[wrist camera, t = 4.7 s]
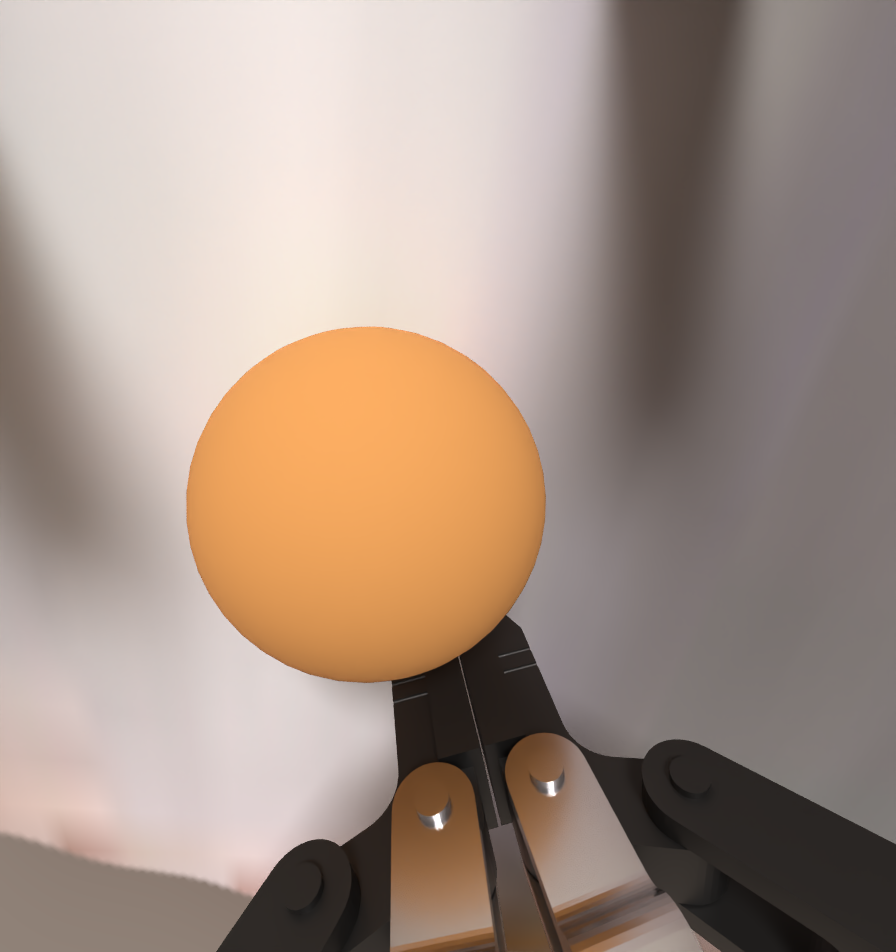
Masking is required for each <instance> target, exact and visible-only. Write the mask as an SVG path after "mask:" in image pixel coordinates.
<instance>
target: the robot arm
mask: <svg viewBox="0 0 896 952" xmlns="http://www.w3.org/2000/svg"><path fill="white" fill-rule="evenodd" d="M459 656H460V660H461V665H462V669H463V673H464V677H465V681H466V685H467V689H468V693H469V697H470V701H471V705H472V709H473V713H474V717H475V721H476V725H477V729H478V733H479V737H480V741H481V745H482V749H483V753H484V757H485V761H486V765H487V769H488V773H489V777H490V781H491V785H492V789H493V793H494V797H495V801H496V805H497V809H498V813H499V817H500V821H501V825H505V824H508V823H513V827H514V831H515V834H516V838H517V842H518V845H519V849H520V853H521V858H522V863H523V868H524V871H525V875H526V878H527V881H528V884H529V887H530V890H531V893H532V896H533V899H534V902H535V904H536V907H537V910H538V913H539V916H540V919H541V922H542V925H543V928H544V931H545V934H546V937H547V940H548V943H549V946H550V949H551V952H704V951H703V949H702V948H701V946H700V944H699V942H698V940H697V939H696V937H695V935H694V933H693V931H692V930H694V931H695V932H696V933H698V934H699V935H700V936H702V937H703V938H704V939H706V940H707V941H708V942H710V943H711V944H712V945H713V946H715V947H716V948H717V949H719V950H720V951H721V952H896V844H894V843H892V842H890V841H888V840H886V839H884V838H882V837H880V836H878V835H877V834H875V833H873V832H871V831H869V830H867V829H865V828H863V827H861V826H859V825H857V824H855V823H853V822H851V821H849V820H847V819H845V818H843V817H841V816H839V815H837V814H835V813H833V812H832V811H830V810H828V809H826V808H824V807H822V806H820V805H818V804H816V803H814V802H812V801H810V800H808V799H806V798H804V797H802V796H800V795H798V794H796V793H794V792H792V791H790V790H789V789H787V788H785V787H783V786H781V785H779V784H777V783H775V782H773V781H771V780H769V779H767V778H765V777H763V776H761V775H759V774H757V773H755V772H753V771H751V770H749V769H747V768H746V767H744V766H742V765H740V764H738V763H736V762H734V761H732V760H730V759H728V758H726V757H724V756H722V755H720V754H718V753H716V752H714V751H712V750H710V749H708V748H706V747H704V746H702V745H700V744H698V743H695V742H691V741H687V740H667V741H663V742H661V743H658V744H657V745H655V746H653V747H652V748H651V749H650V750H649V751H648V753H647V754H646V756H645V758H644V759H638V758H622V757H610V756H604V755H600V754H597V753H594V752H592V751H589V750H588V749H586V748H584V747H582V746H581V745H580V744H578V743H577V742H576V741H575V740H574V739H573V738H572V737H571V736H570V735H569V733H568V732H567V731H566V729H565V727H564V725H563V723H562V721H561V718H560V716H559V714H558V712H557V709H556V707H555V705H554V702H553V700H552V698H551V695H550V693H549V691H548V689H547V686H546V684H545V682H544V679H543V677H542V675H541V672H540V670H539V668H538V666H537V664H536V661H535V659H534V656H533V654H532V652H531V650H530V648H529V645H528V642H527V640H526V638H525V636H524V633H523V631H522V629H521V628H520V627H519V626H518V625H517V624H516V623H515V622H513V621H512V620H511V619H510V618H509V617H508V616H507V615H505V616H504V617H503V619H502V620H501V621H500V622H499V623H498V624H497V626H496V627H495V628H494V629H493V630H492V631H491V632H490V633H489V634H487V635H486V636H485V637H484V638H483V639H482V640H480V641H479V642H478V643H477V644H476V645H474V646H473V647H472V648H471V649H469V650H468V651H466V652H464V653H463V654H461V655H459ZM392 693H393V702H394V705H393V706H394V718H395V731H396V744H397V757H398V770H399V778H398V784H397V788H396V792H395V794H394V797H393V799H392V801H391V803H390V804H389V806H388V808H387V809H386V810H385V812H384V813H383V814H382V816H381V817H380V818H379V819H378V820H377V821H376V822H375V823H373V824H372V825H371V826H369V827H368V828H367V829H365V830H364V831H362V832H361V833H359V834H358V835H357V836H355V837H354V838H352V839H351V840H349V841H348V842H346V843H345V844H343V845H342V846H338V845H337V844H336V843H334V842H331V841H329V840H324V839H317V840H311V841H307V842H305V843H303V844H300V845H299V846H297V847H295V848H294V849H292V850H291V851H290V852H288V853H287V854H286V855H285V856H284V857H283V858H282V859H281V860H280V861H279V862H278V863H277V865H276V866H275V867H274V869H273V870H272V871H271V873H270V874H269V876H268V877H267V879H266V880H265V882H264V883H263V885H262V886H261V887H260V889H259V890H258V892H257V893H256V895H255V896H254V898H253V899H252V901H251V902H250V903H249V905H248V906H247V908H246V909H245V911H244V912H243V914H242V915H241V917H240V918H239V919H238V921H237V922H236V924H235V925H234V927H233V928H232V930H231V931H230V933H229V934H228V935H227V937H226V938H225V940H224V941H223V943H222V944H221V946H220V947H219V948H218V950H217V951H216V952H507V947H506V940H505V934H504V927H503V921H502V914H501V908H500V901H499V895H498V888H497V882H496V878H497V868H496V862H495V857H494V853H493V848H492V844H491V840H490V835H489V831H488V830H489V829H492V828H496V827H498V823H497V819H496V814H495V810H494V806H493V801H492V797H491V792H490V788H489V784H488V779H487V775H486V770H485V766H484V762H483V757H482V753H481V748H480V744H479V740H478V736H477V732H476V728H475V724H474V720H473V716H472V712H471V708H470V704H469V700H468V696H467V692H466V687H465V683H464V679H463V675H462V671H461V667H460V663H459V659H458V657H456V658H454V659H453V660H451V661H449V662H447V663H445V664H444V665H442V666H439V667H437V668H435V669H432V670H430V671H427V672H424V673H421V674H418V675H415V676H411V677H408V678H403V679H398V680H392ZM691 929H692V930H691Z"/></svg>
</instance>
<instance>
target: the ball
mask: <svg viewBox="0 0 896 952" xmlns="http://www.w3.org/2000/svg"><path fill="white" fill-rule="evenodd" d="M545 501H546V495H545V486H544V476H543V470H542V466H541V462H540V458H539V454H538V450H537V447H536V445H535V442H534V440H533V437H532V435H531V432H530V429H529V427H528V426H527V424H526V422H525V420H524V418H523V417H522V415H521V413H520V411H519V409H518V408H517V407H516V405H515V404H514V403H513V401H512V400H511V399H510V397H509V396H508V395H507V393H506V392H505V391H504V389H503V388H502V387H501V386H500V385H499V384H498V383H497V382H496V381H495V380H494V379H493V378H492V377H491V376H490V375H489V374H488V373H487V372H486V371H485V370H484V369H483V368H481V367H480V366H479V365H477V364H476V363H475V362H473V361H472V360H471V359H470V358H468V357H467V356H465V355H463V354H462V353H460V352H458V351H456V350H454V349H453V348H451V347H449V346H447V345H445V344H444V343H441V342H439V341H436V340H433V339H430V338H428V337H425V336H422V335H419V334H417V333H413V332H408V331H403V330H397V329H392V328H384V327H354V328H343V329H336V330H331V331H326V332H322V333H319V334H315V335H312V336H309V337H306V338H304V339H301V340H298V341H296V342H294V343H291V344H289V345H287V346H285V347H283V348H281V349H279V350H277V351H275V352H274V353H272V354H271V355H269V356H268V357H266V358H265V359H263V360H262V361H261V362H259V363H258V364H256V365H255V366H254V367H252V368H251V369H250V370H249V371H248V372H246V373H245V374H244V375H243V376H242V377H241V378H240V379H239V380H238V381H237V383H236V384H235V385H234V386H233V387H232V388H231V389H230V390H229V391H228V392H227V393H226V394H225V396H224V397H223V398H222V400H221V401H220V403H219V404H218V406H217V407H216V409H215V410H214V411H213V413H212V414H211V416H210V418H209V420H208V422H207V424H206V426H205V428H204V430H203V432H202V434H201V436H200V439H199V441H198V443H197V446H196V449H195V453H194V456H193V459H192V462H191V466H190V472H189V478H188V485H187V527H188V533H189V540H190V546H191V550H192V553H193V556H194V559H195V562H196V566H197V569H198V572H199V574H200V576H201V578H202V580H203V582H204V584H205V586H206V588H207V590H208V592H209V594H210V596H211V597H212V599H213V600H214V602H215V603H216V605H217V606H218V608H219V609H220V610H221V612H222V613H223V615H224V616H225V617H226V618H227V619H228V620H229V622H230V623H231V624H232V625H233V626H234V627H235V628H236V629H237V630H238V631H239V632H240V633H241V634H242V635H243V636H244V637H245V638H247V639H248V640H249V641H250V642H252V643H253V644H254V645H255V646H257V647H258V648H259V649H260V650H262V651H263V652H265V653H266V654H268V655H270V656H272V657H273V658H275V659H277V660H278V661H280V662H282V663H284V664H285V665H287V666H290V667H292V668H295V669H297V670H300V671H302V672H305V673H308V674H310V675H314V676H319V677H323V678H328V679H332V680H337V681H347V682H362V683H372V682H382V681H390V680H398V679H403V678H408V677H411V676H415V675H418V674H421V673H424V672H427V671H430V670H432V669H435V668H437V667H439V666H442V665H444V664H445V663H447V662H449V661H451V660H453V659H454V658H456V657H458V656H459V655H461V654H463V653H464V652H466V651H468V650H469V649H471V648H472V647H473V646H474V645H476V644H477V643H478V642H479V641H480V640H482V639H483V638H484V637H485V636H486V635H487V634H489V633H490V632H491V631H492V630H493V629H494V628H495V627H496V626H497V624H498V623H499V622H500V621H501V620H502V619H503V617H504V616H505V615H506V614H507V613H508V612H509V611H510V609H511V608H512V606H513V604H514V603H515V601H516V600H517V598H518V597H519V595H520V594H521V592H522V590H523V589H524V587H525V585H526V583H527V580H528V578H529V576H530V574H531V572H532V570H533V567H534V565H535V562H536V558H537V555H538V552H539V549H540V545H541V541H542V535H543V529H544V523H545Z"/></svg>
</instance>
